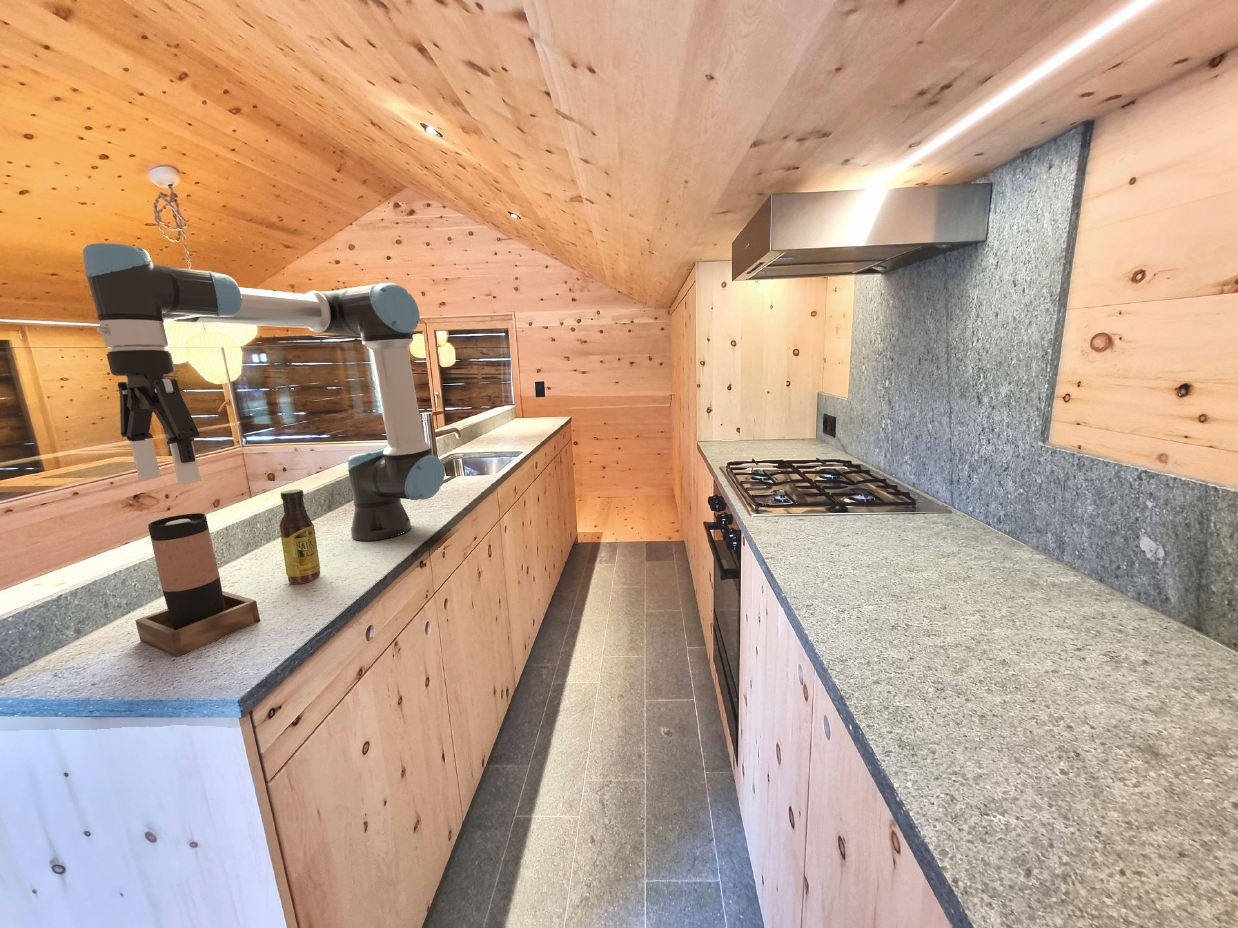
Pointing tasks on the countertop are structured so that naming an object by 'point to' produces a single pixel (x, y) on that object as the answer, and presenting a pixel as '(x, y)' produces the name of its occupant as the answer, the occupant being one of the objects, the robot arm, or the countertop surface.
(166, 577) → the travel mug
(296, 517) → the sauce bottle
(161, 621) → the rectangular wooden tray
